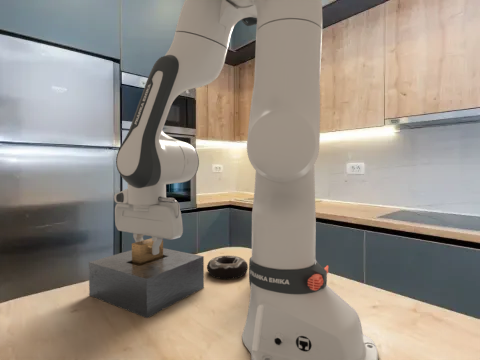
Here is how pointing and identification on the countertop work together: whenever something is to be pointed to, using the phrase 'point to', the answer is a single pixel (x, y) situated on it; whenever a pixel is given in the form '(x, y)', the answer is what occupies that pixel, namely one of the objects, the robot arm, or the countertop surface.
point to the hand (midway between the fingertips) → (148, 252)
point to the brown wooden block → (145, 252)
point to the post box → (146, 281)
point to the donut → (227, 267)
